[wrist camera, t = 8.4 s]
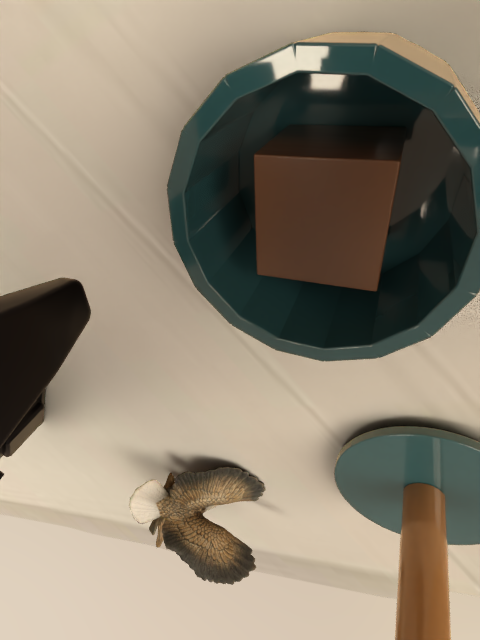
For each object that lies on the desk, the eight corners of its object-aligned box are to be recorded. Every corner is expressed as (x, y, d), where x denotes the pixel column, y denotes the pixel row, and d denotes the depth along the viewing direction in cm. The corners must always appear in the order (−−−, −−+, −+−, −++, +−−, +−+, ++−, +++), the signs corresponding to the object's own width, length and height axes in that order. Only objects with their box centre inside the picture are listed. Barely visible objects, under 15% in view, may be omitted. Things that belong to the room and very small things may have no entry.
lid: (309, 467, 27) (260, 656, 19) (402, 387, 20) (386, 628, 12) (440, 543, 27) (445, 765, 19) (578, 487, 20) (674, 796, 12)
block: (286, 228, 17) (256, 275, 14) (288, 124, 14) (252, 154, 11) (386, 238, 16) (376, 292, 13) (406, 126, 13) (400, 161, 10)
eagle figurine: (192, 524, 36) (274, 559, 31) (124, 566, 31) (209, 618, 25) (187, 440, 36) (269, 460, 30) (118, 468, 31) (202, 498, 25)
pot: (202, 218, 19) (142, 275, 15) (289, -26, 12) (225, -41, 8) (376, 317, 18) (363, 401, 14) (553, 118, 12) (613, 171, 8)
